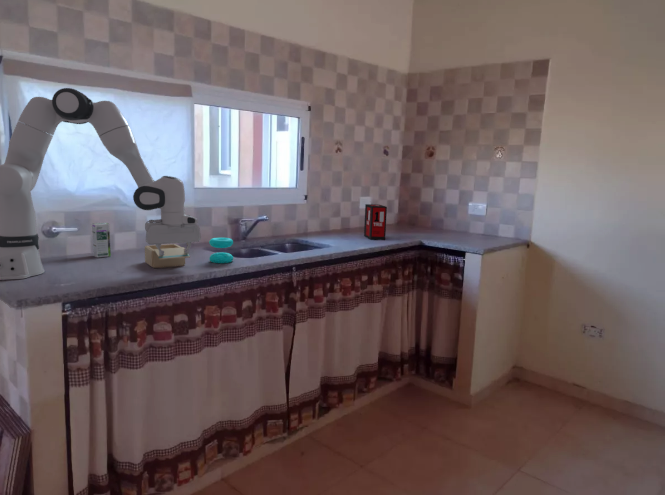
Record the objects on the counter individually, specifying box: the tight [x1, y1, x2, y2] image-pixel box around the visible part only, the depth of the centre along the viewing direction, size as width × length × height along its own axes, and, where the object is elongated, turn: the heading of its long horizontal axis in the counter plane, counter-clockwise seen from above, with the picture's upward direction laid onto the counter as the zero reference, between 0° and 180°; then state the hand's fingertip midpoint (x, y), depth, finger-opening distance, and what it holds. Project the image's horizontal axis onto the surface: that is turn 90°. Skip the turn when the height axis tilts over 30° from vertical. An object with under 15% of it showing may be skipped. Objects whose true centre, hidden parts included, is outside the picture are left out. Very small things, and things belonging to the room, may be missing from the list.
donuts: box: [208, 237, 234, 264], centre depth 203 cm, size 10×10×10 cm
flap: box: [154, 246, 191, 260], centre depth 185 cm, size 12×1×8 cm
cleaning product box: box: [363, 203, 388, 241], centre depth 289 cm, size 16×9×20 cm, turn 10°
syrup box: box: [91, 222, 112, 259], centre depth 205 cm, size 6×6×14 cm
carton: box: [144, 243, 186, 269], centre depth 195 cm, size 13×14×7 cm
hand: (174, 254), depth 184 cm, fingers open, 8 cm apart
